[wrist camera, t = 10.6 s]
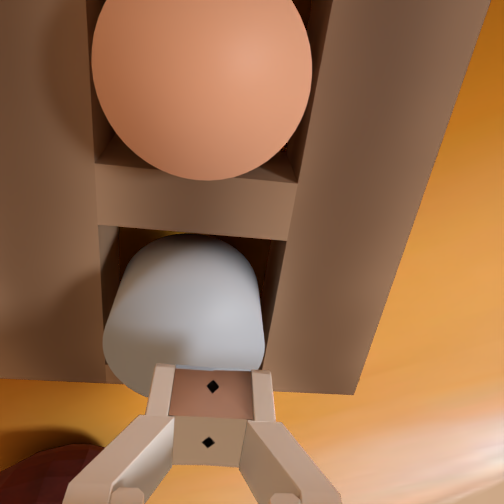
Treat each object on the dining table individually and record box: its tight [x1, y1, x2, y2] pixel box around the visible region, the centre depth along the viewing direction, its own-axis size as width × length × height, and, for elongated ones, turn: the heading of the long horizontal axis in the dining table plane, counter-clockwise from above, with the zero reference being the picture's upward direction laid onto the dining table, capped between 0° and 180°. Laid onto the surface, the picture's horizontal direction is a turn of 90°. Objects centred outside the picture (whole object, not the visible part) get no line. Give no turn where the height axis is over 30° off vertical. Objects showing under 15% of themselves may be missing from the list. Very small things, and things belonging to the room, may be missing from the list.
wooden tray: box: [0, 0, 491, 395], centre depth 13 cm, size 14×24×3 cm, turn 173°
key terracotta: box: [92, 0, 312, 181], centre depth 12 cm, size 5×5×3 cm
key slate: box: [103, 233, 265, 397], centre depth 15 cm, size 5×5×3 cm
